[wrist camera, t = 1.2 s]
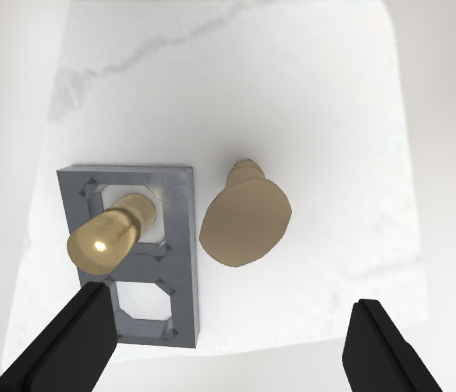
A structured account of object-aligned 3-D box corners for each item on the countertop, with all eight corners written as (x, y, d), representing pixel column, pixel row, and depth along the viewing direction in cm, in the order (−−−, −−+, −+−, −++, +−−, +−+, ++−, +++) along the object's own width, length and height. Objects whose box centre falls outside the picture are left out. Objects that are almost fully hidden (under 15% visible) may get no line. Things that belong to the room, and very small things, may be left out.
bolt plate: (73, 165, 32) (56, 170, 29) (192, 167, 31) (186, 173, 28) (103, 324, 40) (92, 341, 37) (199, 331, 39) (195, 348, 36)
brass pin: (115, 193, 33) (62, 226, 24) (154, 194, 33) (115, 228, 23) (121, 228, 35) (72, 273, 25) (157, 230, 34) (122, 276, 25)
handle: (214, 179, 31) (184, 237, 17) (248, 137, 30) (247, 163, 15) (244, 204, 32) (240, 278, 18) (280, 164, 30) (307, 213, 16)
